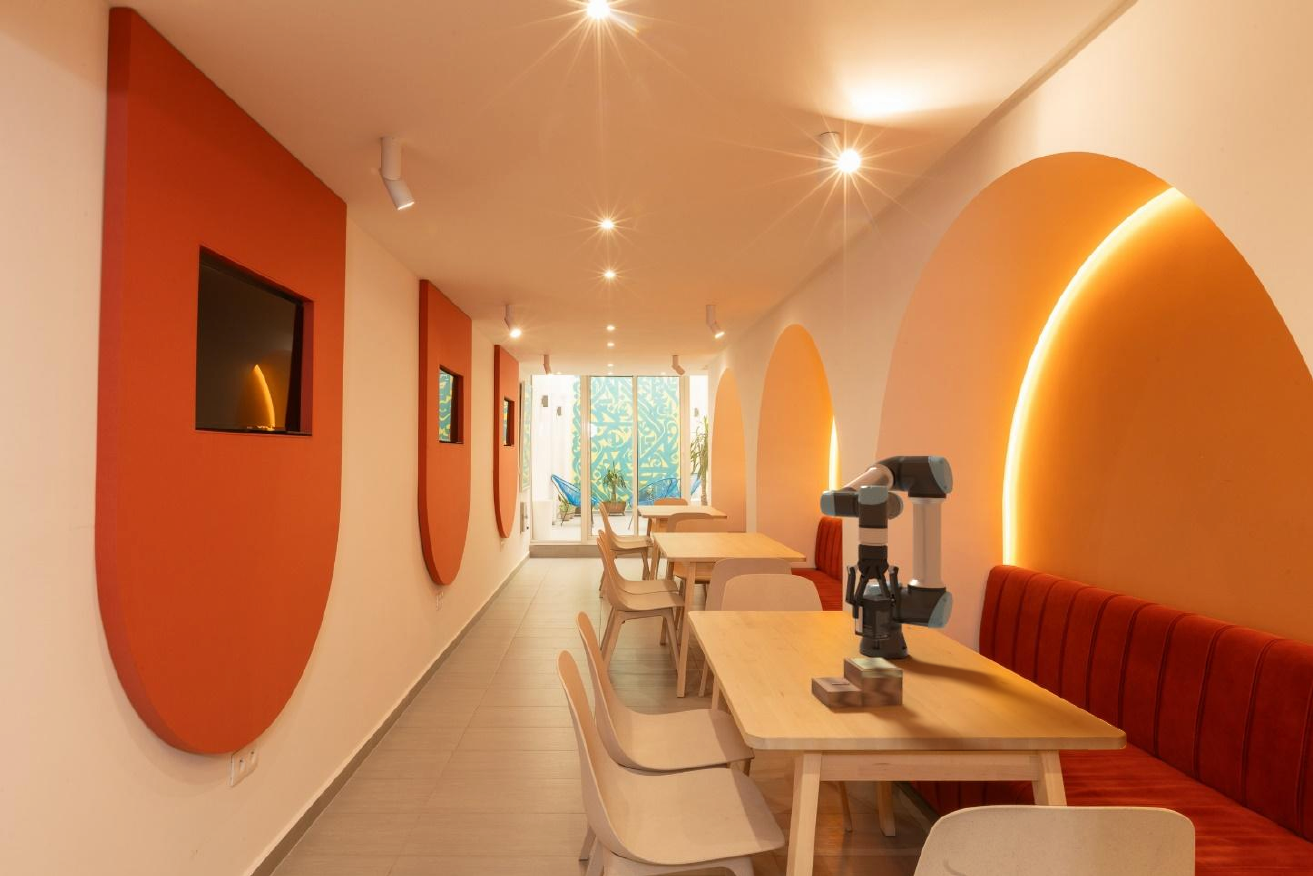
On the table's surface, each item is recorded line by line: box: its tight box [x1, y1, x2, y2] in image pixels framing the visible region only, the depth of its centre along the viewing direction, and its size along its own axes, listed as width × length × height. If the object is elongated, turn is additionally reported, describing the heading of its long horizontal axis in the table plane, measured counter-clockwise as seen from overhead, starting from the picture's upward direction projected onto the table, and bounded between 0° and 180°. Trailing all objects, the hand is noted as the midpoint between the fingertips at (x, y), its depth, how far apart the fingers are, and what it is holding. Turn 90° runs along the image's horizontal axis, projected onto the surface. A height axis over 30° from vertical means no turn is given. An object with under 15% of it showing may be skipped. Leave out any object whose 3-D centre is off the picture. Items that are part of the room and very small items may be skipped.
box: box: [854, 594, 891, 641], centre depth 194 cm, size 8×6×11 cm
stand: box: [811, 657, 904, 709], centre depth 193 cm, size 20×12×9 cm, turn 98°
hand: (872, 630), depth 194 cm, fingers closed on box, 7 cm apart
